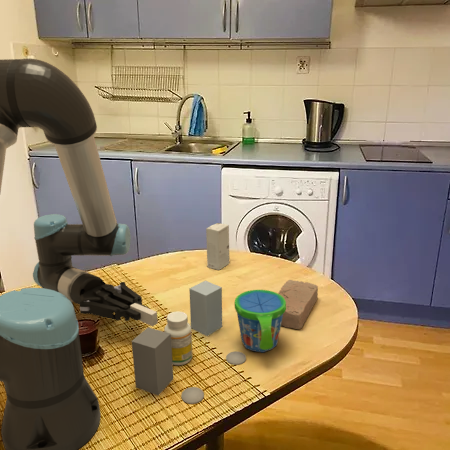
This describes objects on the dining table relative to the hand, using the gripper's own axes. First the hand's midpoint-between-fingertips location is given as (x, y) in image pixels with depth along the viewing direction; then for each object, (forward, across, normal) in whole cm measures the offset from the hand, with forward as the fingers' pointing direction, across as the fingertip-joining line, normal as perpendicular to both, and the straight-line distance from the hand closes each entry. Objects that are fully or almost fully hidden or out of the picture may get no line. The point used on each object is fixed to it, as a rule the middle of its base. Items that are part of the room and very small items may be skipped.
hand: (154, 319), depth 94 cm
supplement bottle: (+7, 0, -7) cm, 9 cm away
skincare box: (-14, -40, -7) cm, 43 cm away
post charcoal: (+8, +9, -6) cm, 14 cm away
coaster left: (+16, +7, -6) cm, 19 cm away
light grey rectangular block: (+4, -12, -6) cm, 14 cm away
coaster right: (+16, -6, -6) cm, 18 cm away
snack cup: (+17, -14, -7) cm, 23 cm away
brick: (+16, -30, -7) cm, 35 cm away
